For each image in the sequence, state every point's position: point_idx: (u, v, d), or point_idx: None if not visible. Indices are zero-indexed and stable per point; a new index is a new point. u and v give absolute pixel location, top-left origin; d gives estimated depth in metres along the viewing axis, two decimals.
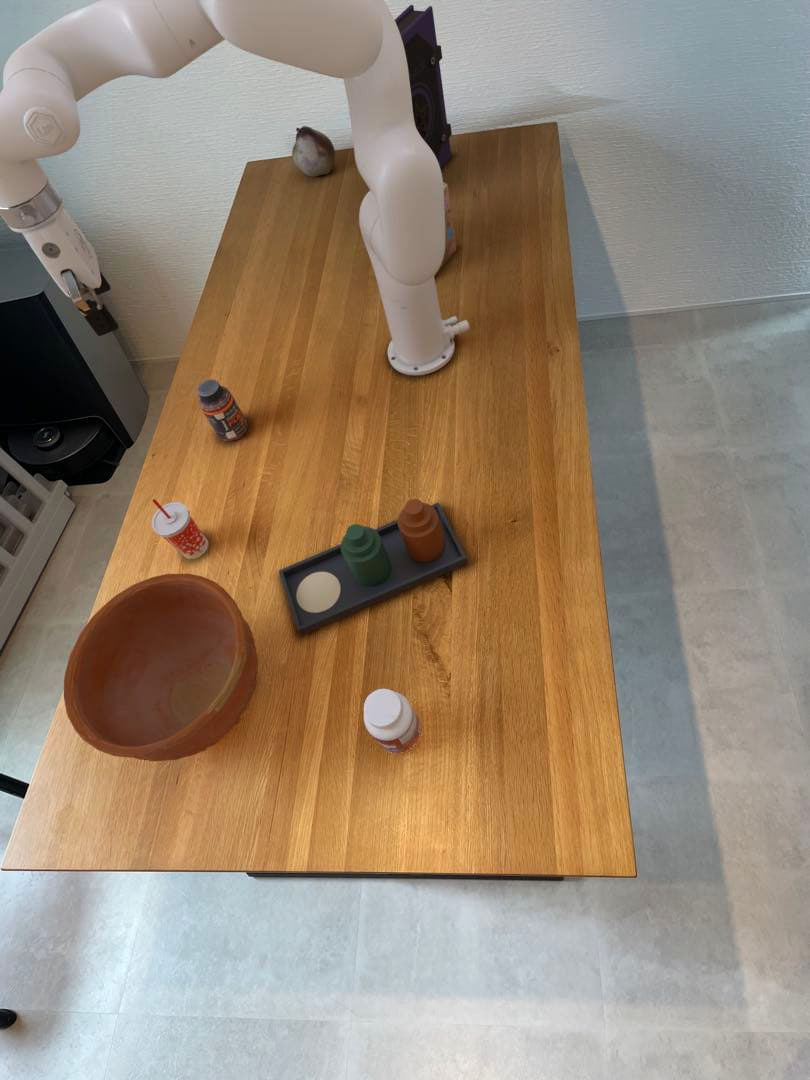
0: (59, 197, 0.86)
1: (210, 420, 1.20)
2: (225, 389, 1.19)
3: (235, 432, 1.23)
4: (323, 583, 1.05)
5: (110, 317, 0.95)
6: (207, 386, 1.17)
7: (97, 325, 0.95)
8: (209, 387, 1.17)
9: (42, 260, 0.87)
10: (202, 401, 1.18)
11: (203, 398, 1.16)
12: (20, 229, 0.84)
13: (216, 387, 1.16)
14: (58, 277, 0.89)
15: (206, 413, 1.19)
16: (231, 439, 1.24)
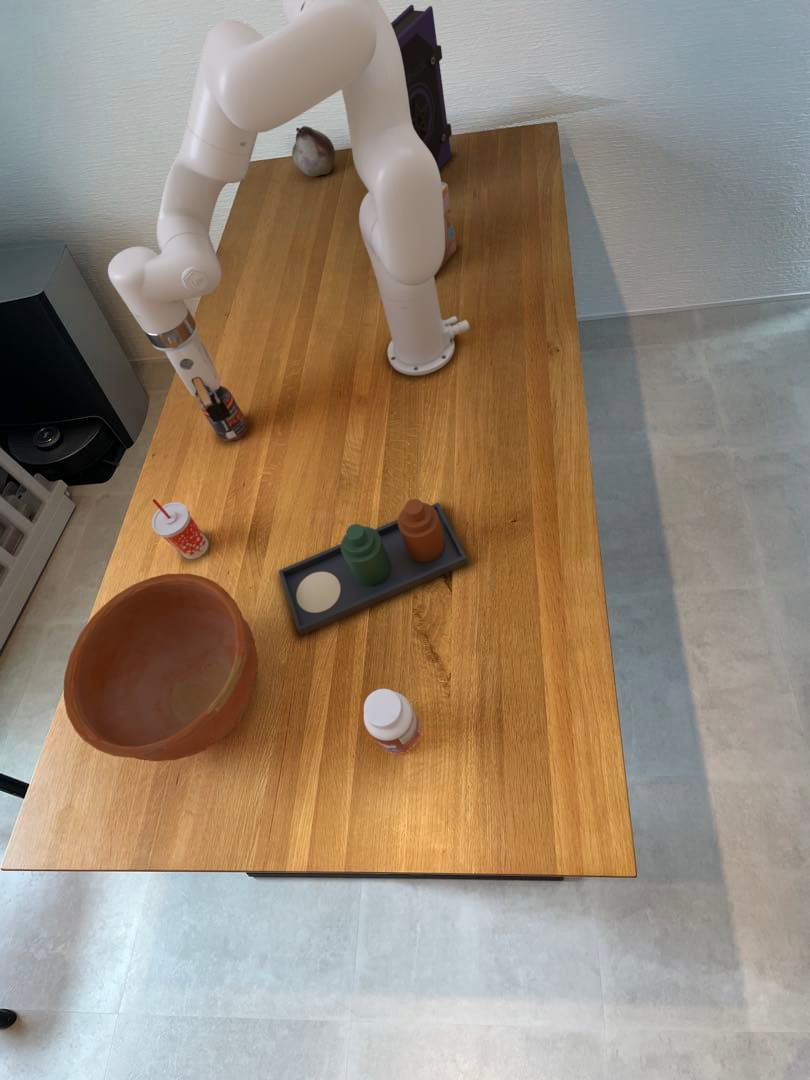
0: (194, 321, 1.06)
1: (210, 420, 1.20)
2: (225, 389, 1.19)
3: (235, 432, 1.23)
4: (323, 583, 1.05)
5: (225, 408, 1.17)
6: (207, 386, 1.17)
7: (215, 415, 1.16)
8: None
9: (178, 371, 1.07)
10: None
11: None
12: (164, 348, 1.04)
13: None
14: (189, 383, 1.09)
15: (206, 413, 1.19)
16: (231, 439, 1.24)
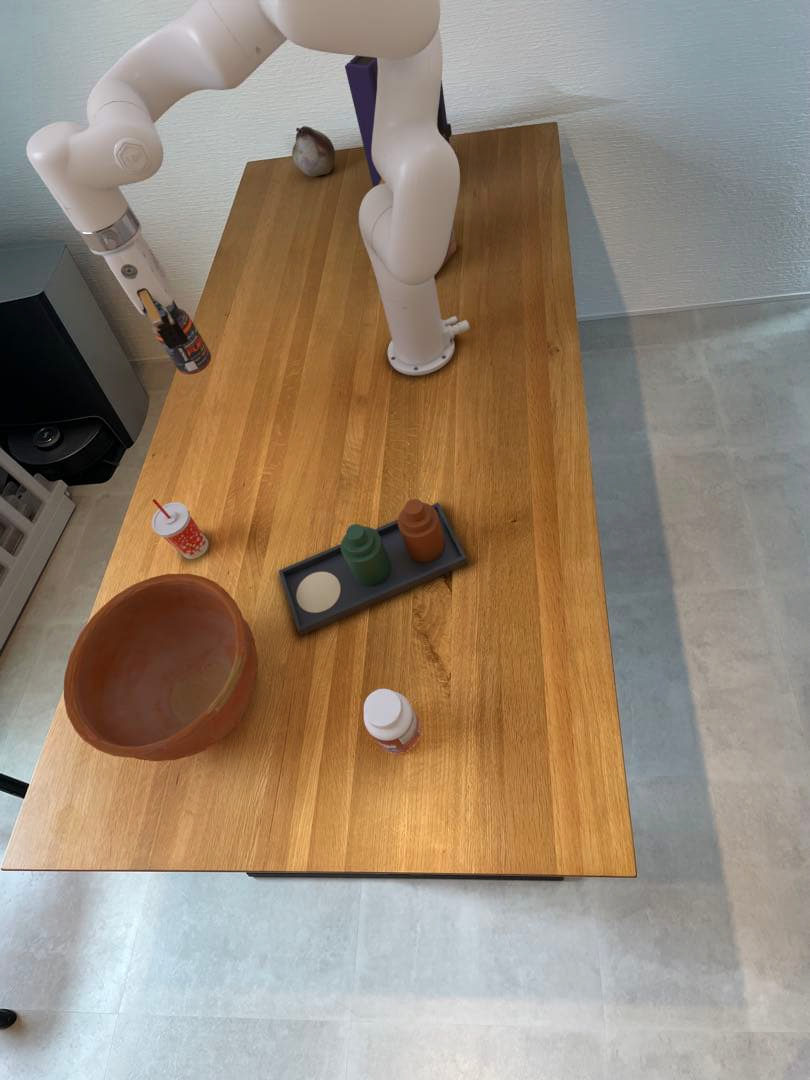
0: (137, 221, 0.90)
1: (166, 348, 1.05)
2: (182, 311, 1.03)
3: (196, 363, 1.07)
4: (323, 583, 1.05)
5: (181, 331, 1.01)
6: None
7: (169, 339, 1.01)
8: None
9: (120, 281, 0.91)
10: None
11: None
12: (101, 252, 0.89)
13: (170, 307, 1.01)
14: (134, 296, 0.93)
15: (160, 339, 1.03)
16: (192, 372, 1.08)
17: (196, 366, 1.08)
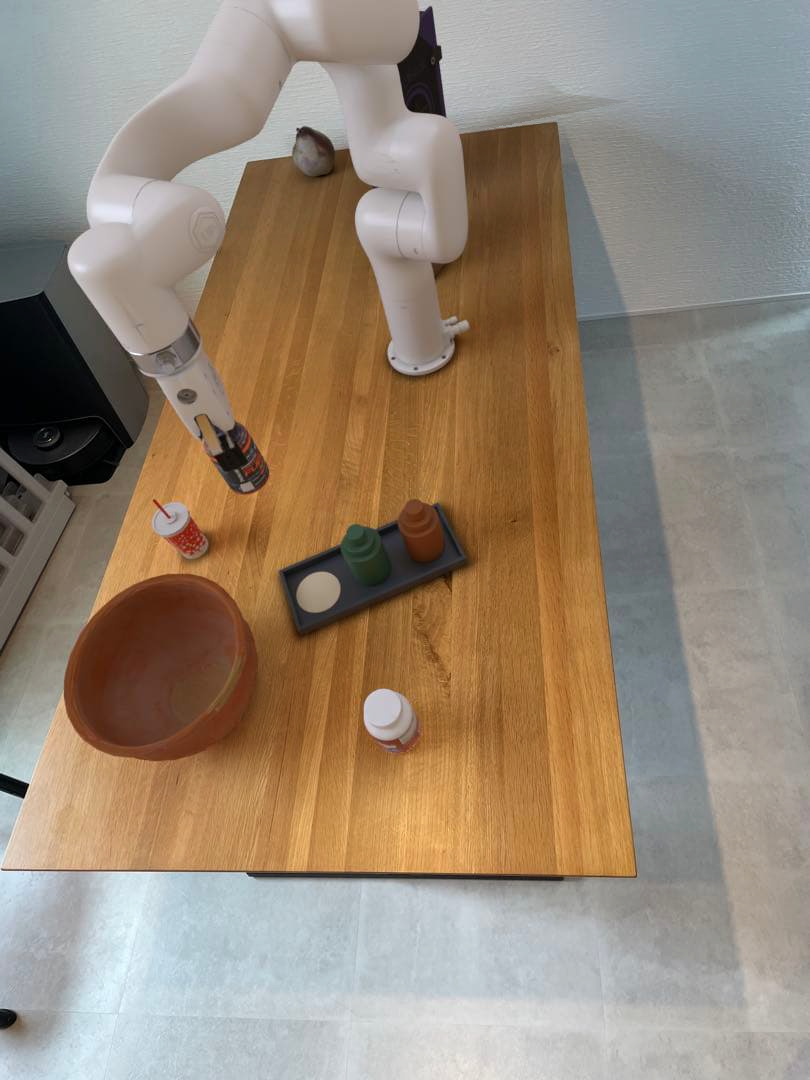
0: (198, 334, 0.73)
1: (219, 468, 0.87)
2: (240, 426, 0.86)
3: (253, 483, 0.90)
4: (323, 583, 1.05)
5: (240, 453, 0.84)
6: None
7: (226, 463, 0.83)
8: None
9: (175, 406, 0.74)
10: None
11: None
12: (154, 374, 0.71)
13: None
14: (190, 422, 0.76)
15: (214, 460, 0.86)
16: (247, 492, 0.91)
17: (253, 486, 0.90)
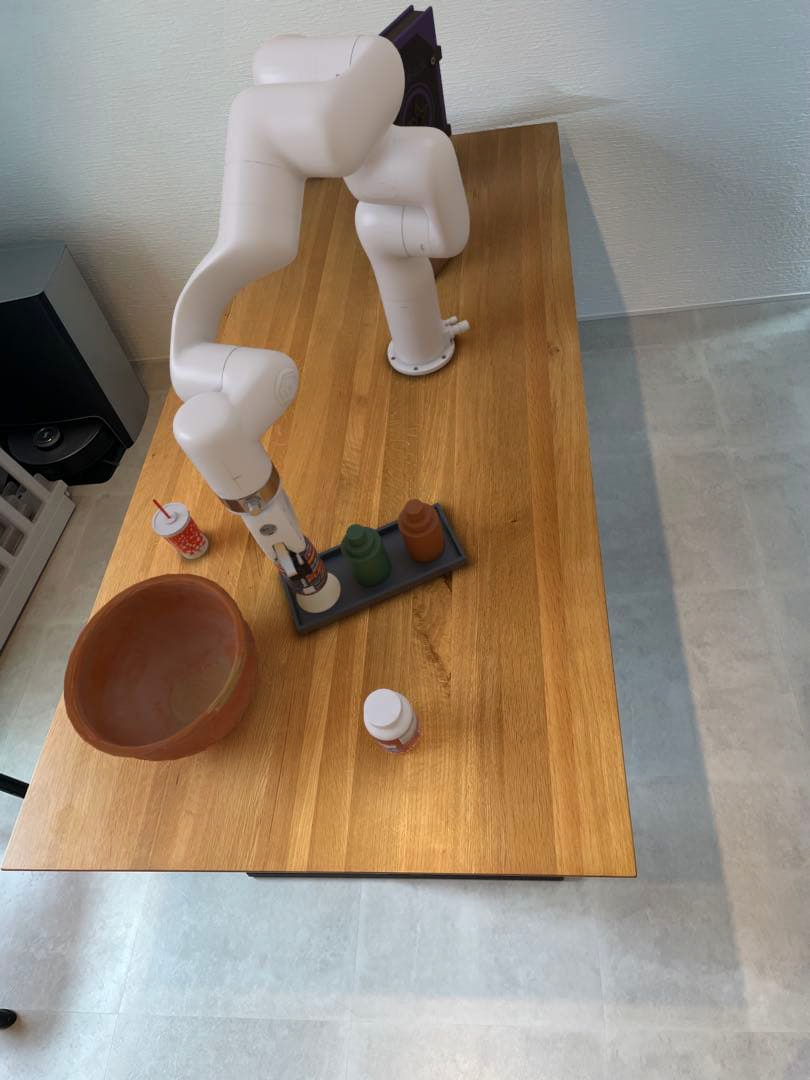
0: (278, 474, 0.80)
1: (285, 576, 0.95)
2: (305, 539, 0.94)
3: (315, 586, 0.98)
4: None
5: (307, 566, 0.92)
6: None
7: (295, 576, 0.91)
8: None
9: (257, 538, 0.81)
10: None
11: None
12: (240, 513, 0.79)
13: None
14: (269, 549, 0.83)
15: (281, 570, 0.93)
16: (309, 594, 0.99)
17: (314, 589, 0.98)
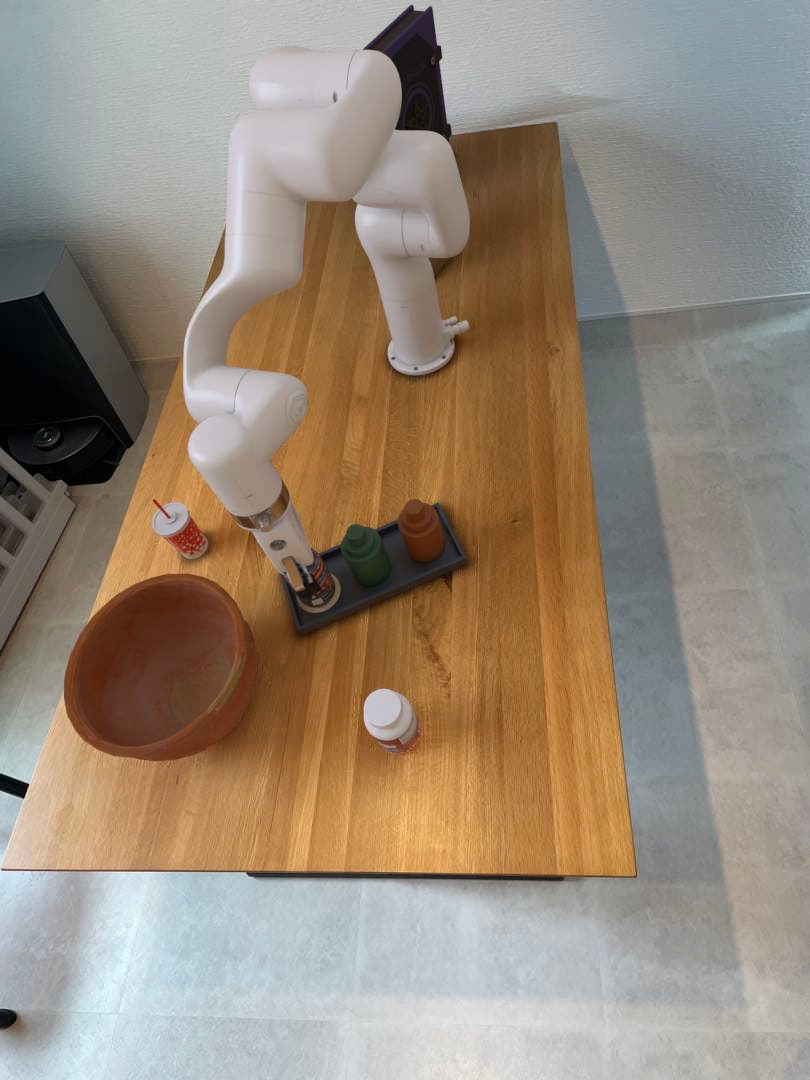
0: (287, 491, 0.83)
1: None
2: (314, 553, 0.97)
3: (323, 598, 1.01)
4: None
5: (316, 584, 0.93)
6: None
7: (304, 593, 0.92)
8: None
9: (267, 552, 0.84)
10: None
11: None
12: (251, 529, 0.82)
13: None
14: (278, 563, 0.86)
15: None
16: (317, 606, 1.02)
17: (322, 601, 1.01)
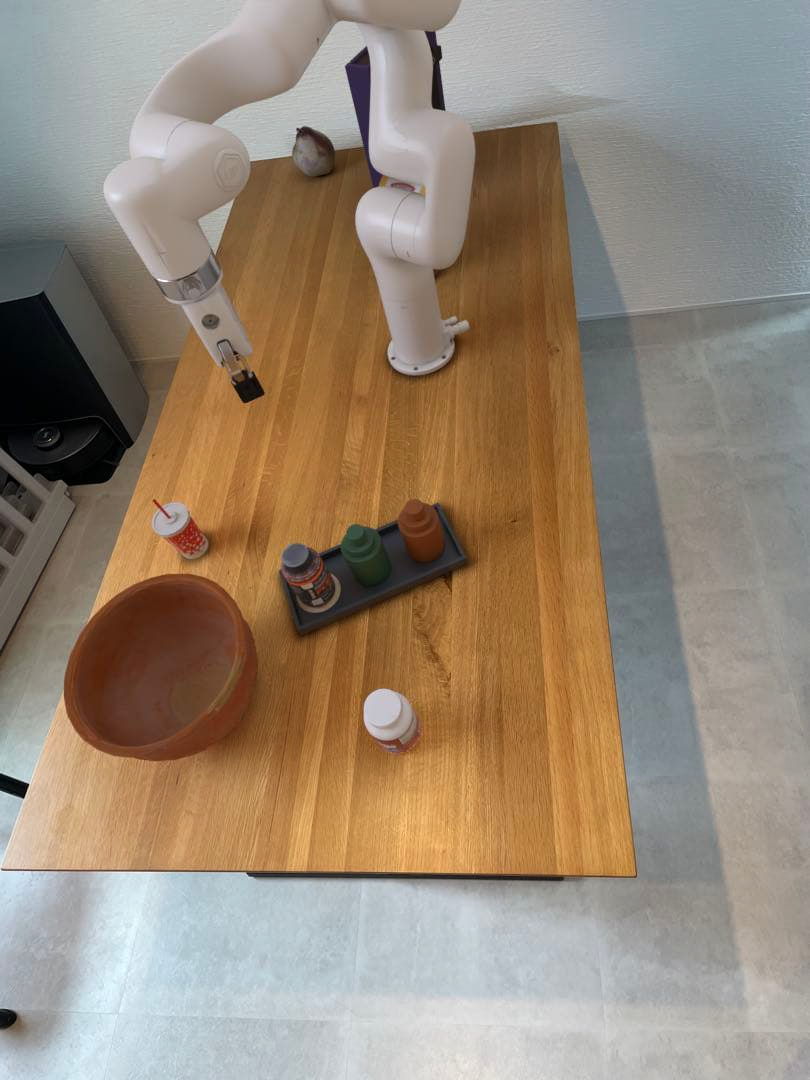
0: (219, 264, 0.80)
1: (294, 589, 0.98)
2: (314, 553, 0.97)
3: (323, 598, 1.01)
4: None
5: (258, 384, 0.89)
6: (294, 552, 0.95)
7: (245, 393, 0.89)
8: (296, 554, 0.95)
9: (200, 332, 0.81)
10: (287, 569, 0.96)
11: (289, 568, 0.95)
12: (181, 301, 0.78)
13: (305, 555, 0.94)
14: (214, 348, 0.83)
15: (291, 583, 0.97)
16: (317, 606, 1.02)
17: (322, 601, 1.01)
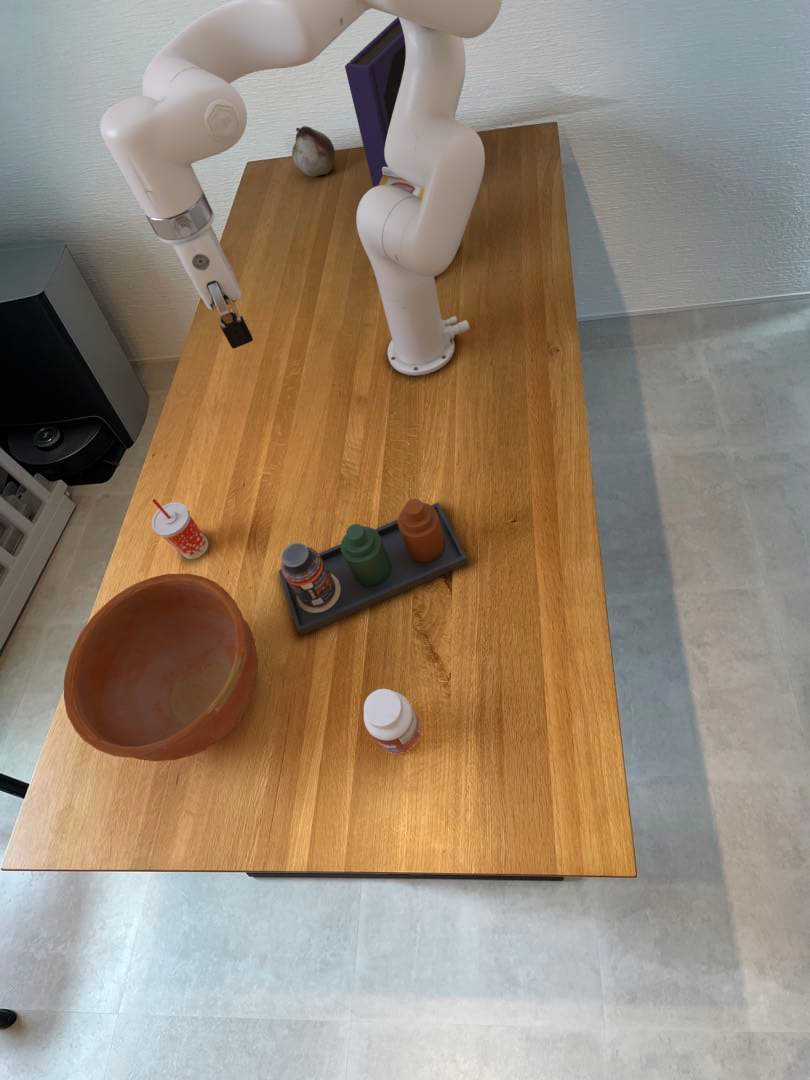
0: (210, 207, 0.83)
1: (294, 589, 0.98)
2: (314, 553, 0.97)
3: (323, 598, 1.01)
4: None
5: (246, 329, 0.93)
6: (294, 552, 0.95)
7: (234, 338, 0.92)
8: (296, 554, 0.95)
9: (190, 272, 0.84)
10: (287, 569, 0.96)
11: (289, 568, 0.95)
12: (172, 240, 0.82)
13: (305, 555, 0.94)
14: (203, 289, 0.86)
15: (291, 583, 0.97)
16: (317, 606, 1.02)
17: (322, 601, 1.01)
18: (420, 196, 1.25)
